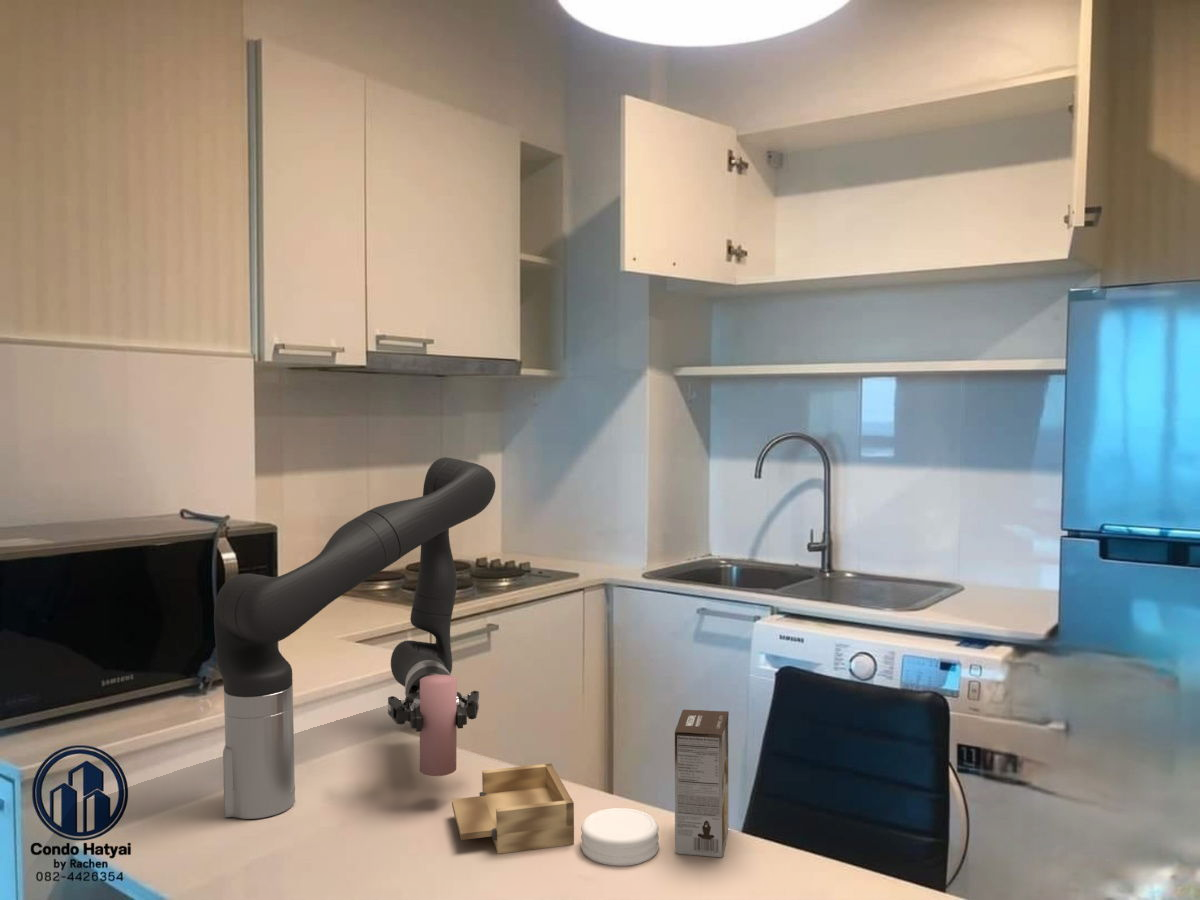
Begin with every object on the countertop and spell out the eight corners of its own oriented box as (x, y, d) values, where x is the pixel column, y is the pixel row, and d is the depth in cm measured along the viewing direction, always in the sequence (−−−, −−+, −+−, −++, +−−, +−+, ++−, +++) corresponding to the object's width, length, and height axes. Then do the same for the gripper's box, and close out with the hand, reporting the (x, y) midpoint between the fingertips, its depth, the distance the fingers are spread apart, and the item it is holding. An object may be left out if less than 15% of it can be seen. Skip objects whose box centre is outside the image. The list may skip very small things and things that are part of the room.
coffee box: (682, 823, 129) (682, 707, 128) (729, 827, 127) (729, 710, 127) (673, 854, 120) (673, 730, 119) (724, 859, 118) (724, 733, 118)
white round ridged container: (669, 840, 124) (669, 814, 124) (640, 874, 115) (640, 846, 115) (601, 826, 128) (601, 801, 128) (567, 858, 119) (567, 831, 119)
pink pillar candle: (421, 777, 132) (421, 685, 131) (418, 764, 137) (418, 675, 136) (458, 774, 133) (458, 683, 133) (454, 761, 138) (454, 673, 138)
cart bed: (462, 858, 119) (461, 815, 119) (450, 812, 132) (450, 774, 132) (574, 844, 123) (573, 802, 122) (551, 800, 136) (551, 763, 136)
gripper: (383, 668, 147) (387, 700, 130) (475, 662, 150) (491, 693, 134) (383, 715, 147) (387, 753, 130) (475, 709, 151) (490, 745, 134)
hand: (440, 723), depth 132 cm, fingers closed on pink pillar candle, 5 cm apart
